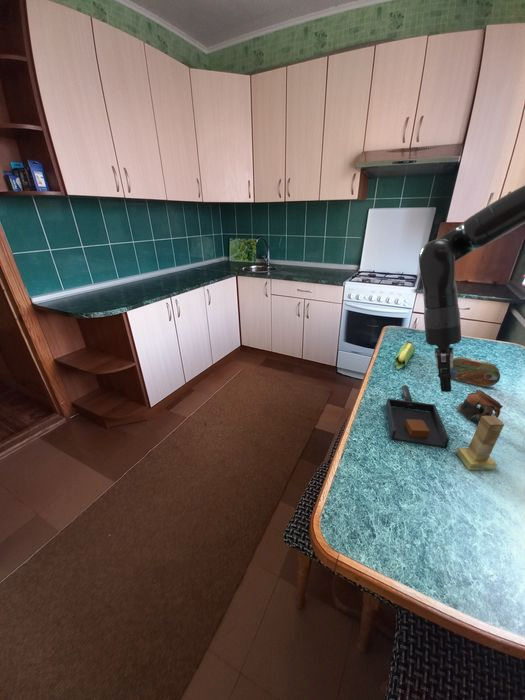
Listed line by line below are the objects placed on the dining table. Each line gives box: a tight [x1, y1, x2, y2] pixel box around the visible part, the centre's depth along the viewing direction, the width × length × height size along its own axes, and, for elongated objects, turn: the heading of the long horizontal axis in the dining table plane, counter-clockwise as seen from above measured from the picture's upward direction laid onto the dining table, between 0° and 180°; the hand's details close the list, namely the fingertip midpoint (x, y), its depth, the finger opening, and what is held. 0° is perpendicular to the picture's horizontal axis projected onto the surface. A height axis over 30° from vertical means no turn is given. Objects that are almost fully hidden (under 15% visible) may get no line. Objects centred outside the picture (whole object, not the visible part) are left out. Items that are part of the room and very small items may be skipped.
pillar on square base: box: [455, 415, 505, 471], centre depth 68 cm, size 6×5×13 cm
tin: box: [451, 356, 501, 388], centre depth 100 cm, size 15×3×8 cm, turn 55°
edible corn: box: [393, 341, 416, 370], centre depth 115 cm, size 5×20×5 cm, turn 144°
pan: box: [385, 384, 450, 449], centre depth 86 cm, size 25×13×3 cm, turn 165°
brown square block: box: [405, 419, 429, 438], centre depth 79 cm, size 4×4×2 cm
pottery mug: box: [456, 389, 503, 422], centre depth 84 cm, size 12×10×8 cm
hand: (446, 384), depth 75 cm, fingers open, 8 cm apart
